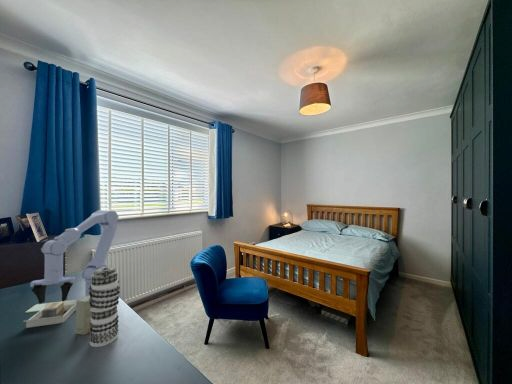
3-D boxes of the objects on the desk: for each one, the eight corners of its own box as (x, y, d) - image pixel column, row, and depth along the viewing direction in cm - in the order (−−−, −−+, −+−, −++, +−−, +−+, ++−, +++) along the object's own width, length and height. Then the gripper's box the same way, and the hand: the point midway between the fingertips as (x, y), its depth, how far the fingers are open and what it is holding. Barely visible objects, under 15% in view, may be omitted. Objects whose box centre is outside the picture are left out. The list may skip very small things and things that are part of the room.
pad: (54, 303, 103) (54, 302, 103) (44, 310, 97) (44, 309, 97) (36, 305, 101) (36, 304, 101) (25, 313, 94) (25, 312, 95)
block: (63, 312, 95) (63, 301, 95) (54, 321, 88) (54, 309, 88) (52, 314, 94) (52, 302, 94) (41, 323, 87) (42, 310, 87)
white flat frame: (78, 307, 100) (78, 299, 100) (60, 325, 86) (60, 316, 86) (46, 311, 96) (46, 302, 96) (22, 330, 82) (22, 321, 82)
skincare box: (84, 335, 80) (85, 302, 80) (74, 333, 80) (75, 300, 81) (100, 325, 86) (100, 294, 86) (91, 324, 87) (91, 293, 87)
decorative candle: (88, 337, 79) (88, 268, 79) (118, 327, 84) (118, 263, 85) (87, 351, 71) (88, 275, 72) (120, 340, 77) (121, 269, 77)
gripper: (25, 274, 85) (24, 308, 85) (69, 270, 89) (69, 303, 89) (37, 268, 92) (36, 300, 92) (78, 265, 96) (77, 296, 96)
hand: (53, 301), depth 91 cm, fingers open, 7 cm apart
